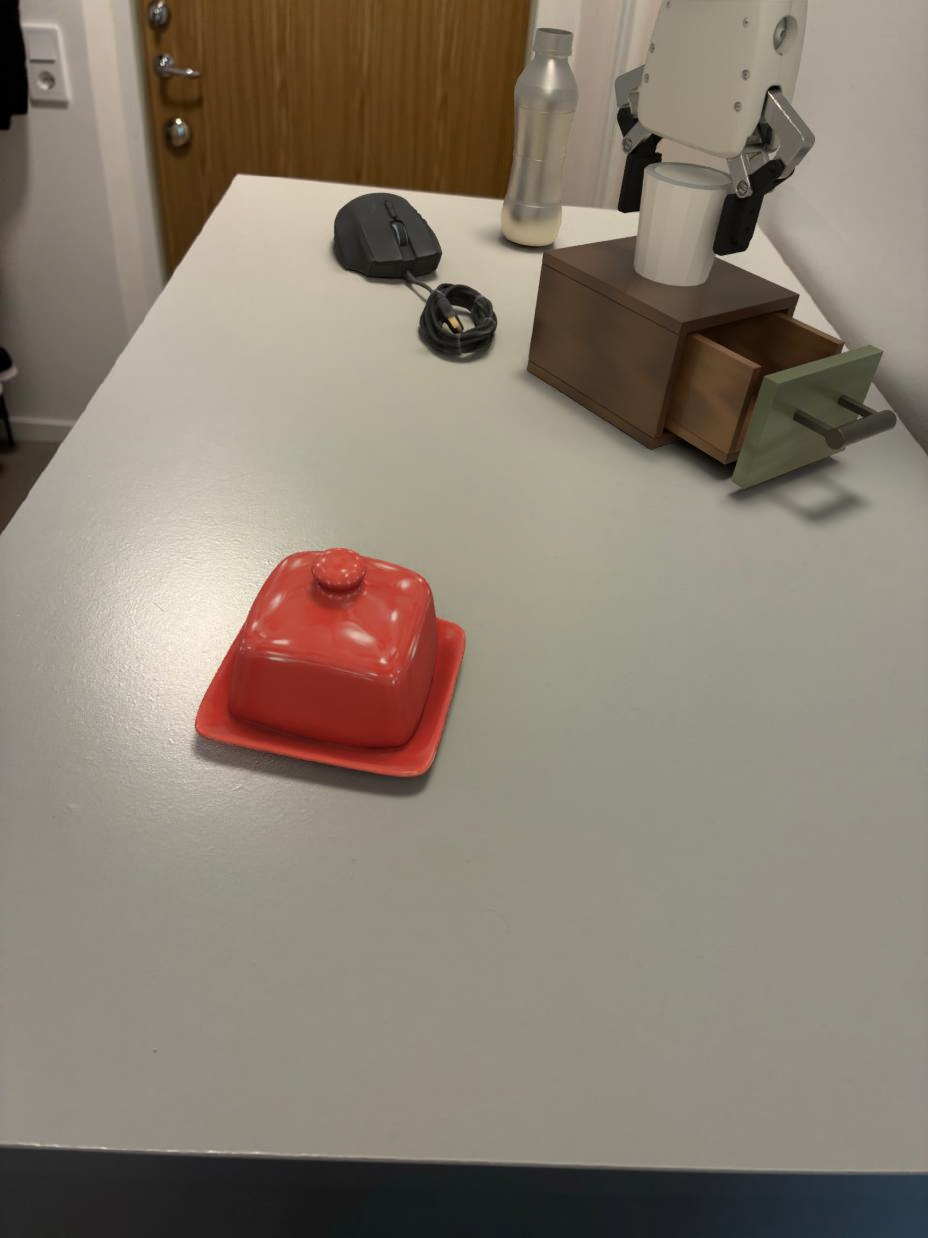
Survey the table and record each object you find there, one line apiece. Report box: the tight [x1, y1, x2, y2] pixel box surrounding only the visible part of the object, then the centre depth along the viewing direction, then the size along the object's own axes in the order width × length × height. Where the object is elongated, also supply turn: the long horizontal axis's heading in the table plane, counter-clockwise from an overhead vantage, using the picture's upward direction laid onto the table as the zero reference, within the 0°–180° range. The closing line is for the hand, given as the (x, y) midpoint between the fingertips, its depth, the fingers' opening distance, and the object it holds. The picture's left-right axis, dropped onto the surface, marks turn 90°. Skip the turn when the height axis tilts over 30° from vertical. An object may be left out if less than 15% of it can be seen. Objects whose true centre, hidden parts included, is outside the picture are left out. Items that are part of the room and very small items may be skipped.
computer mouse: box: [333, 192, 498, 354], centre depth 89 cm, size 10×32×6 cm, turn 24°
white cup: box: [634, 161, 735, 286], centre depth 70 cm, size 7×7×7 cm
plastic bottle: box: [500, 27, 580, 247], centre depth 98 cm, size 6×7×20 cm
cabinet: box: [526, 235, 801, 450], centre depth 75 cm, size 15×13×10 cm
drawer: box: [664, 311, 898, 490], centre depth 69 cm, size 18×12×8 cm, turn 36°
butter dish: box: [194, 547, 467, 778], centre depth 45 cm, size 12×12×8 cm
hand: (679, 230), depth 70 cm, fingers open, 9 cm apart
